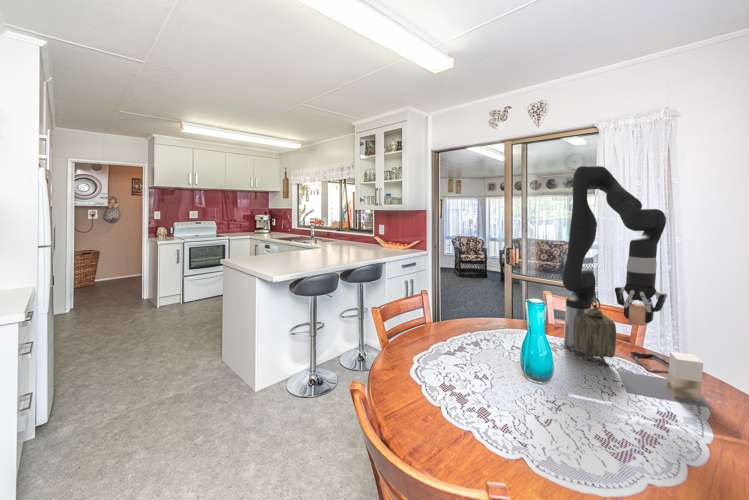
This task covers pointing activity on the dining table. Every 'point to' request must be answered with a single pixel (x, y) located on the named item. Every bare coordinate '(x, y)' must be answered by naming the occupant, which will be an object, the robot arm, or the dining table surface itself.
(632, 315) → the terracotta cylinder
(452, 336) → the dining table surface
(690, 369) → the tower top
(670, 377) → the tower base
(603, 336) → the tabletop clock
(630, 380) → the slate mat
